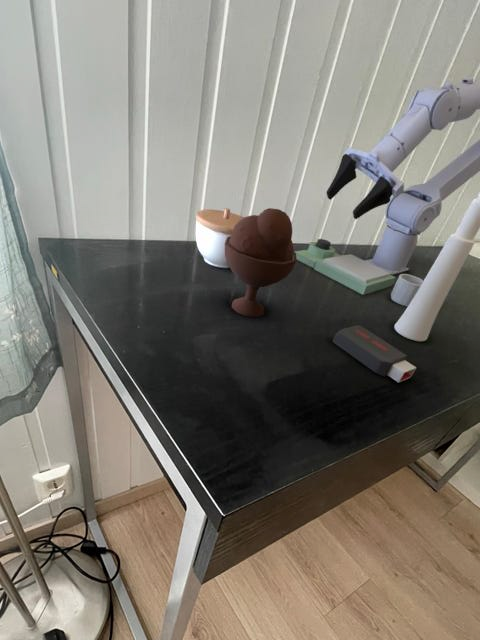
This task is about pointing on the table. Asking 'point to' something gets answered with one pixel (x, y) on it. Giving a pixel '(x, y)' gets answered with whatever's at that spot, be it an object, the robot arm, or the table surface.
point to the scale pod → (315, 254)
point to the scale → (355, 273)
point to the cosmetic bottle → (440, 278)
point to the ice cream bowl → (260, 255)
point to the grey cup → (405, 289)
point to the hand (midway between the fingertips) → (341, 205)
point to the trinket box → (214, 234)
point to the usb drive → (374, 353)
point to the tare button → (323, 244)
